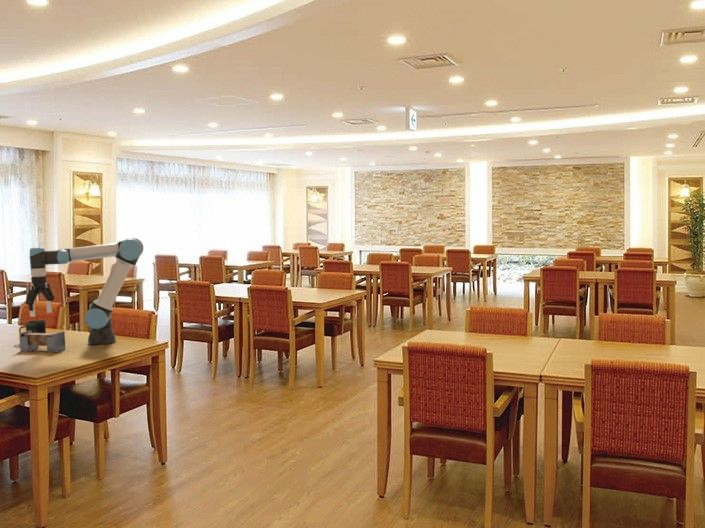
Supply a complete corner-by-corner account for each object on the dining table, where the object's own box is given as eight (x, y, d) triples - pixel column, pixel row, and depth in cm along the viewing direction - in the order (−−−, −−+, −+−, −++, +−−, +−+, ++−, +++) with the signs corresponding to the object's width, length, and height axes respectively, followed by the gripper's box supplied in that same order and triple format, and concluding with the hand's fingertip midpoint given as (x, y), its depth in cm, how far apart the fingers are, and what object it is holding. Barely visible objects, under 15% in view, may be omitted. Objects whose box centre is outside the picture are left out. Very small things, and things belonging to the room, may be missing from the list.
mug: (47, 342, 403) (46, 322, 402) (19, 345, 397) (18, 324, 396) (47, 339, 413) (46, 319, 412) (20, 342, 407) (18, 321, 406)
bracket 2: (65, 349, 382) (64, 331, 381) (55, 352, 374) (54, 334, 373) (57, 348, 383) (56, 331, 382) (47, 352, 375) (46, 333, 374)
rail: (58, 344, 380) (58, 333, 380) (52, 346, 375) (52, 335, 375) (30, 343, 385) (30, 332, 384) (24, 345, 380) (23, 334, 379)
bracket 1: (38, 348, 386) (37, 330, 385) (28, 351, 378) (27, 333, 377) (31, 348, 387) (30, 330, 386) (20, 351, 379) (19, 333, 378)
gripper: (47, 273, 390) (50, 311, 392) (16, 278, 366) (19, 318, 368) (59, 273, 388) (62, 311, 390) (28, 278, 364) (31, 318, 366)
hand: (41, 314), depth 379 cm, fingers open, 13 cm apart
